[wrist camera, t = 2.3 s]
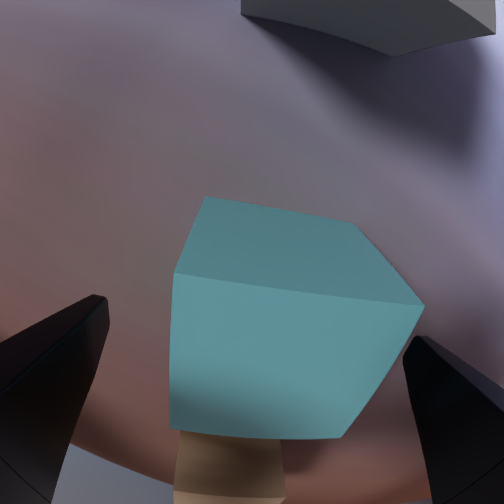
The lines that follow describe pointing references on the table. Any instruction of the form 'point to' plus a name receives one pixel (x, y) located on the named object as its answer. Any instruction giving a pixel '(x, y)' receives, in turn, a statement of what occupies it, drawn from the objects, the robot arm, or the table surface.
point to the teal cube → (281, 323)
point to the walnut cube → (228, 470)
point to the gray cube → (384, 20)
